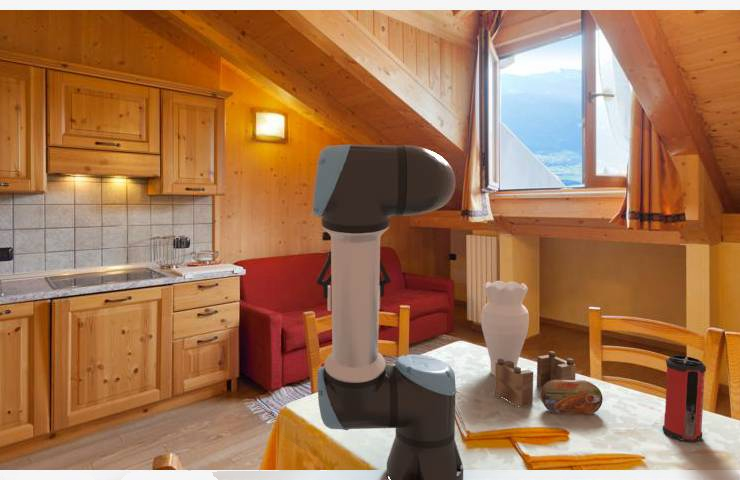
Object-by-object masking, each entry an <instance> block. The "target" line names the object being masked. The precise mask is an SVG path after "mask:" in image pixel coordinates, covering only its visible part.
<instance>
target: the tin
mask: <svg viewBox="0 0 740 480" xmlns="http://www.w3.org/2000/svg"><path fill="white" fill-rule="evenodd" d="M540 400H541V402H542V404H543V406H544V407H545V408H546V410H548V411H549V412H550V413H551V414H555V415H582V416H585V415H586V416H587V415H593V414H594V413H597V412H598V411H599V409H600V408H601V406H602V405H603V400H604V399H603V393H602V391H601V390H600V388H599V387H598V386H596V385H595V384H594V383H592V382H590V381H588V380H583V379H580V380H579V379H575V380H551V381H549V382H547V383H546V384H545V385H544V386H543V387H542V388H540Z"/></svg>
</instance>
